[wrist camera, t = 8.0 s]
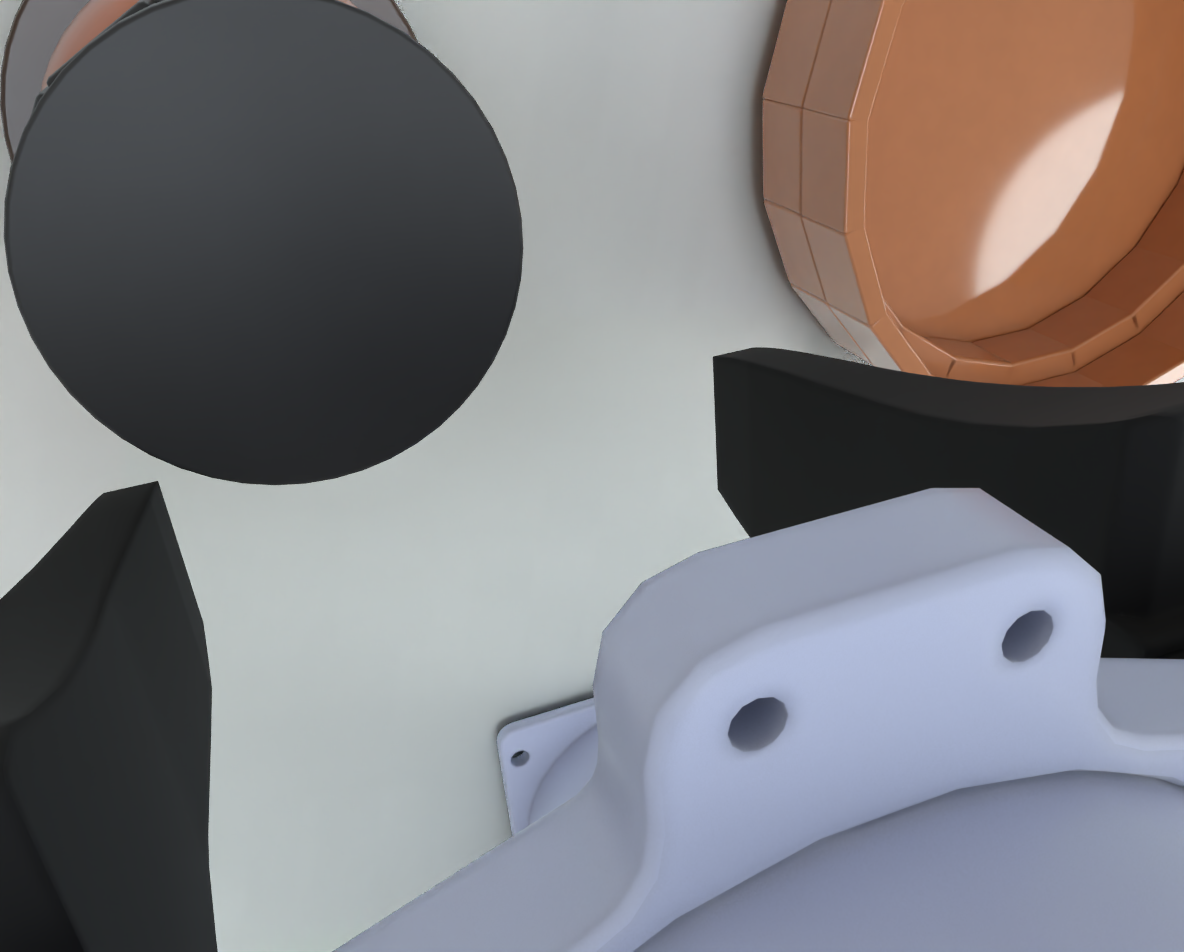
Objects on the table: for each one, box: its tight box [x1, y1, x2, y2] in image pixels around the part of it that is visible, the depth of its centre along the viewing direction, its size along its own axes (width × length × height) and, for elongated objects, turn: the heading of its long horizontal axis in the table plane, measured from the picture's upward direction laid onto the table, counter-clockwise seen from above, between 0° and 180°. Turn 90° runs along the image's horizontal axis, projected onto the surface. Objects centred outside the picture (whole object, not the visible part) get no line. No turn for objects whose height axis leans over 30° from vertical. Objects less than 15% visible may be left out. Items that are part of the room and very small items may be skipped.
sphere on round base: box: [0, 0, 418, 164], centre depth 17 cm, size 8×8×7 cm
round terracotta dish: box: [762, 0, 1184, 387], centre depth 24 cm, size 14×14×4 cm
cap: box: [4, 0, 523, 485], centre depth 13 cm, size 5×5×5 cm
